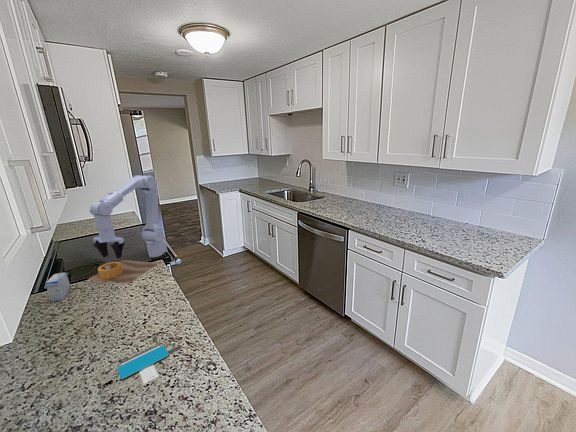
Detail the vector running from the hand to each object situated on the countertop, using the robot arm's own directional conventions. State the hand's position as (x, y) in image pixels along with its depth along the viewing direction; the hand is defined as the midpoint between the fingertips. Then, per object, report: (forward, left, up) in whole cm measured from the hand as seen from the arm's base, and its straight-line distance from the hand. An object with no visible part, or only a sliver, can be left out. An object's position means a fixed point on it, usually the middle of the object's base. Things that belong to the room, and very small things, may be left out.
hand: (112, 257), depth 121 cm
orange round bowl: (0, -3, -9) cm, 9 cm away
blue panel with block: (+41, +50, -11) cm, 66 cm away
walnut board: (-4, +1, -10) cm, 11 cm away
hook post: (0, -4, -9) cm, 10 cm away
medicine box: (+17, -11, -11) cm, 23 cm away
